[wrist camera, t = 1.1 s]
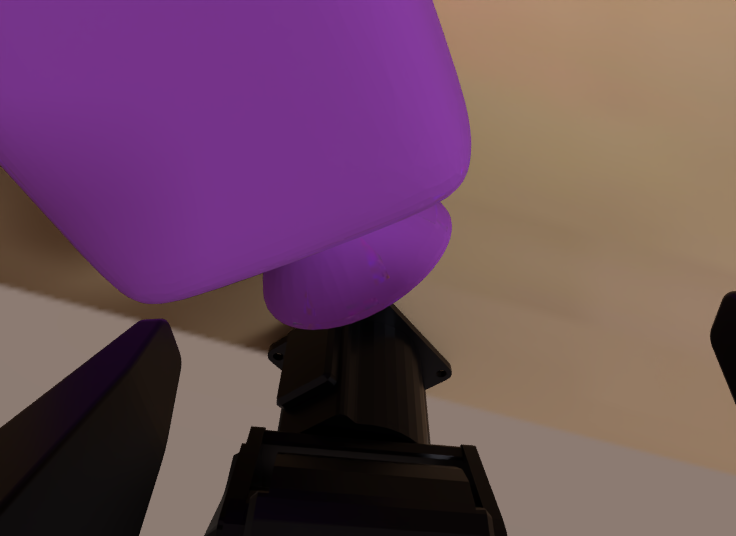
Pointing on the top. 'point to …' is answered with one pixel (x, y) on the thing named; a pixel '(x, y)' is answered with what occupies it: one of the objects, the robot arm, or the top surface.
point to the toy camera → (239, 144)
